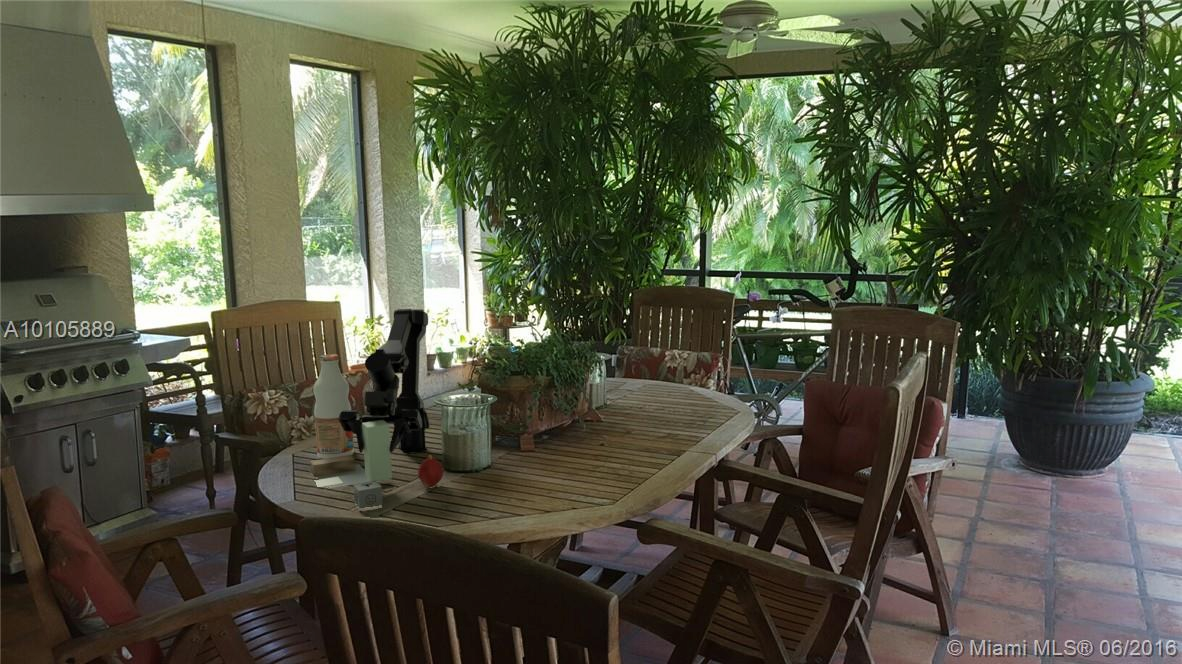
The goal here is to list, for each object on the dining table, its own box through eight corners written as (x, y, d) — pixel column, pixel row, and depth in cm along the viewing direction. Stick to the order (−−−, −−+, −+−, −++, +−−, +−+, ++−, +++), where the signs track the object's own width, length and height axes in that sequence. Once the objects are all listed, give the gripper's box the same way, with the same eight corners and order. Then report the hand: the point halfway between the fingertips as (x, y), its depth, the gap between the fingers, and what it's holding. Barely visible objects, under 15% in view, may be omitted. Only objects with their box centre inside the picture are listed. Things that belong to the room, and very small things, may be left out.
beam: (351, 466, 210) (351, 454, 210) (355, 470, 207) (354, 458, 207) (311, 472, 206) (310, 461, 205) (314, 477, 202) (313, 465, 202)
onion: (417, 485, 198) (415, 453, 197) (441, 482, 200) (439, 450, 199) (421, 492, 192) (419, 459, 191) (445, 489, 194) (444, 456, 193)
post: (386, 472, 198) (383, 419, 196) (392, 478, 194) (389, 424, 192) (365, 476, 196) (362, 422, 194) (370, 482, 191) (367, 427, 189)
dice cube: (377, 501, 187) (375, 480, 186) (382, 508, 183) (381, 486, 182) (354, 506, 185) (353, 484, 184) (360, 512, 180) (358, 490, 180)
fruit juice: (313, 457, 224) (306, 355, 220) (348, 451, 229) (341, 351, 225) (323, 465, 216) (315, 359, 212) (358, 459, 221) (352, 355, 217)
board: (359, 468, 212) (358, 463, 212) (375, 485, 199) (374, 480, 198) (302, 477, 206) (301, 472, 206) (314, 495, 192) (314, 490, 192)
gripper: (338, 377, 195) (326, 435, 186) (416, 375, 195) (408, 433, 186) (350, 402, 204) (339, 458, 195) (425, 400, 204) (418, 457, 195)
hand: (375, 451), depth 192 cm, fingers closed on post, 7 cm apart
